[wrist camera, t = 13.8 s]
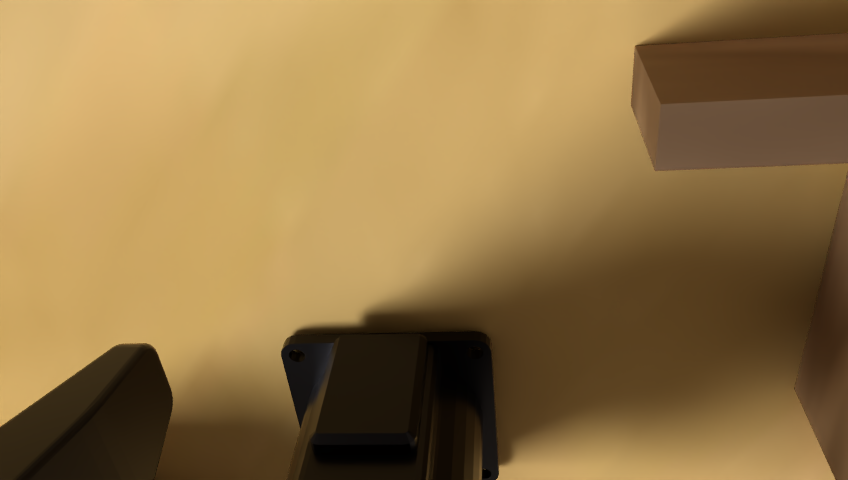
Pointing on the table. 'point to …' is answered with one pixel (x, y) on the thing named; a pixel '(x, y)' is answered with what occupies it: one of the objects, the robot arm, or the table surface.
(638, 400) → the table surface
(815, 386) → the brown angular piece
